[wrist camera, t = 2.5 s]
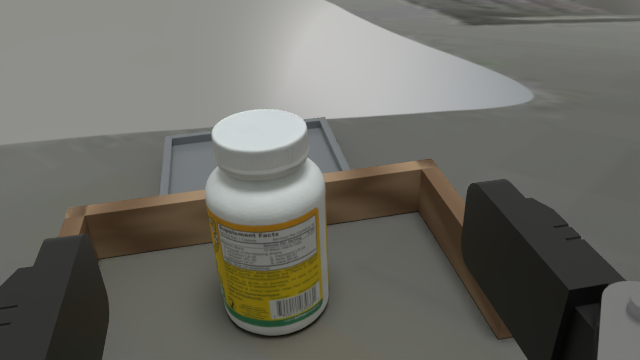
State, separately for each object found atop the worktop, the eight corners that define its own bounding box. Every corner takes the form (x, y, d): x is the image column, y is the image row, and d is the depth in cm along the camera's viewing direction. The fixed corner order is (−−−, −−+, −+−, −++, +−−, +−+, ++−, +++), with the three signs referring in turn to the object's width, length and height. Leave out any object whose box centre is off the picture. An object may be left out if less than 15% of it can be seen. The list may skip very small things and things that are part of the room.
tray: (325, 135, 43) (324, 117, 42) (353, 197, 35) (353, 176, 34) (169, 155, 41) (165, 136, 40) (163, 224, 34) (158, 202, 33)
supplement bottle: (306, 351, 25) (292, 169, 20) (203, 323, 26) (166, 149, 21) (344, 275, 29) (340, 109, 24) (253, 255, 31) (232, 96, 26)
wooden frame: (428, 200, 35) (431, 158, 33) (518, 335, 25) (529, 286, 23) (83, 250, 32) (68, 207, 30) (34, 426, 22) (9, 377, 20)
